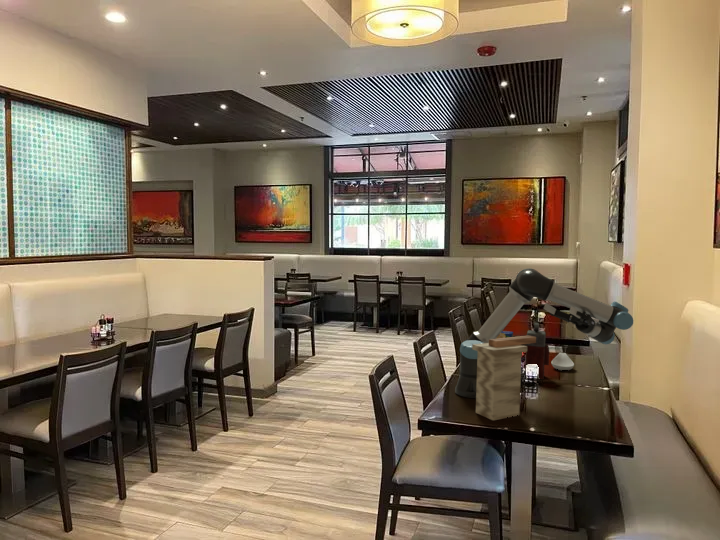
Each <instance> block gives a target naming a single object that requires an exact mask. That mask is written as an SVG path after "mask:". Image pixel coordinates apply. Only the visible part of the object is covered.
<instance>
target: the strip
mask: <svg viewBox="0 0 720 540" xmlns="http://www.w3.org/2000/svg"><path fill="white" fill-rule="evenodd" d="M530 343H536V337H534V336H529V335H527V334H526V335H521V336H520V335H517V336H513V337H508V338H498V339H489V346H493V347H503V346H512V345H526V344H530Z"/></svg>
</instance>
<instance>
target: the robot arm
mask: <svg viewBox="0 0 720 540" xmlns="http://www.w3.org/2000/svg"><path fill="white" fill-rule="evenodd" d="M508 290H509V291H508V293H507V294H506V296H504V298H503V299H502V301H500V303H499V304H498V306H497V307H496V308H495V309H494V311H493V312H492V313H491V315H490V316H489V317H488V318H487V320H485V322H484V323H483V325H482V326H481V327H480V328H479V330H477V331H473V332H472V333H471V334H470V336H469V337H468V338H466V340H464V341H463V342H461V344H460V347H459V353H460V354H459V377H458V379H457V383H456V385H455V386H454V387H455V389H454V393H455V394H456V395H457V396H460V397H463V398H469V399H476V386H477V356H478V351H476V350H473V349H472V344H481V343H489V339H496V338H497V337H498V336H499V334H500V333H501V332H502V331H504V329H505V328H506V327H507V326H508V325H509V323H511V321H512V320H513V318H514V317H515V316H516V314H518V312H519V311H520V309H521V308H522V307H523V306H524V305H525V304H526V303H531V301H532V300H533V299H534V298H536V299H539V300H542V301H545V302H546V303H545V304H544V306H543V310H544V311H546V312H548V313H549V315H550V316H551V317H555V318H557V319H560V320H561V321H564V322H567V323H571V324H573V325H574V326H575V328H576V330H578V331H579V332H581V333H582V334H584V335H587V337H588V338H591V339H593V340H594V341H596V342H598V343H600V344H603V345H610V344H612V343H613V342H614V340H615V338H616V337H615V336H616V334H615V330H616V329H619V330H622V331H623V330H625V331H626V330H629V329H631V328H632V326H633V325H634V318H633V316H632V315H631V314H630V313H629V309H628V307H626V306H624V305H623V304H621V303H619V302H617V301H612V303H611V304H607V303H605V302H602V301H599V300H597V299H595V298H592V297H589V296H587V295H585V294H582V293H580V292H577V291H574V290H572V289H570V288H567V287H565V286H561V285H560V284H557V283H556V281H555V280H553V279H551V278H549V277H547V276H545V275H544V274H542V273H541V272H539V271H538V270H536V269H534V268H525V269H523V270H520V271H518V273H517V275H516V278H515V279H514V280H513V282H511V284H510V285H509V287H508ZM547 301H551V302H553V303H556V304H559V305H561V306H564V307H566V308H569V311H568V313H566V312H564V311H562V310H558V309H557V308H556V307H553V306H552V305H550V304H549V303H547ZM597 320H598V321H597Z"/></svg>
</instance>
